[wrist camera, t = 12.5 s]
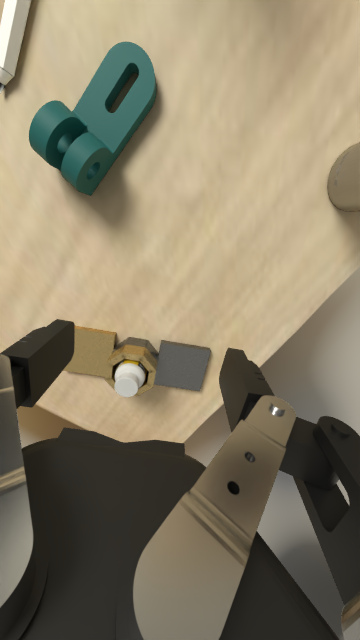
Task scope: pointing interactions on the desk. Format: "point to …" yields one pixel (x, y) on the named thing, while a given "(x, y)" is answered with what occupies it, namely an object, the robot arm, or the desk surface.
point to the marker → (11, 37)
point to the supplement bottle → (129, 377)
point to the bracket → (96, 119)
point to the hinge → (139, 359)
